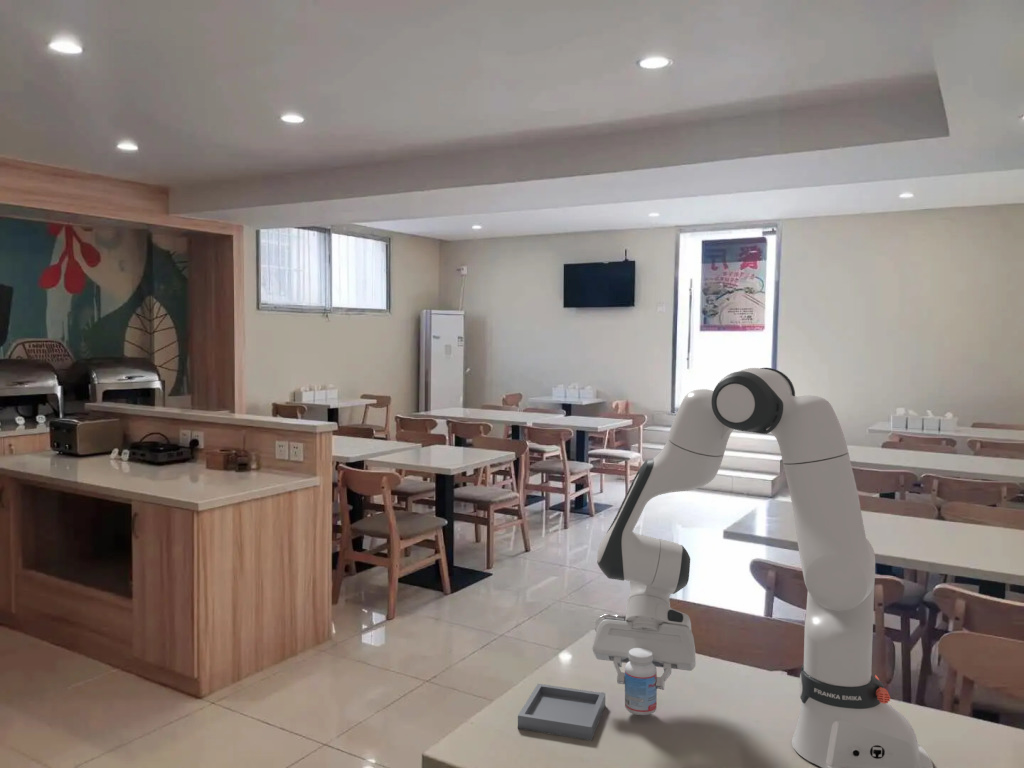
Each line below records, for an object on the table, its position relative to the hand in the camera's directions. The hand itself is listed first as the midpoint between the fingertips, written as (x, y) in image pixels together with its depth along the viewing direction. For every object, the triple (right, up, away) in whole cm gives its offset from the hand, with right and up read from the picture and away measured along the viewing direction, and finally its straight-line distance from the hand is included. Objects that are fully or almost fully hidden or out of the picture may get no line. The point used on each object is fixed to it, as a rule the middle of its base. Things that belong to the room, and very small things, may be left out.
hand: (640, 685), depth 147 cm
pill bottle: (0, -5, +1) cm, 5 cm away
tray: (-15, -6, 0) cm, 16 cm away
